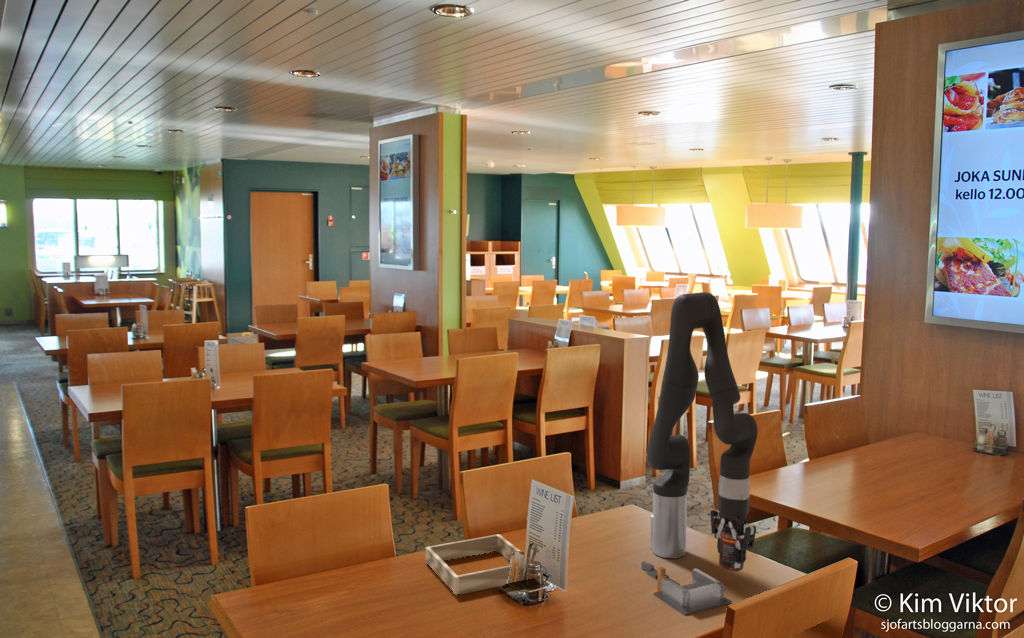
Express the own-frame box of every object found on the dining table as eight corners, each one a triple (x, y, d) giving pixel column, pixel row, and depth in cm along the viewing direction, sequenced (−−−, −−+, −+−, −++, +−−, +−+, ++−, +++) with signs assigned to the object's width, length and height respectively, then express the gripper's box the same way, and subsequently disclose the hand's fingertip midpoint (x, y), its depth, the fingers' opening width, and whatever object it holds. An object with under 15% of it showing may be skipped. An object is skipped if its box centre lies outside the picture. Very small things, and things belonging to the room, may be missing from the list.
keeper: (653, 594, 186) (653, 568, 186) (698, 583, 192) (698, 558, 192) (684, 615, 175) (685, 588, 175) (731, 603, 181) (732, 576, 181)
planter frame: (425, 563, 206) (425, 547, 205) (499, 549, 215) (499, 534, 215) (455, 595, 186) (455, 577, 186) (534, 578, 195) (534, 561, 195)
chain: (639, 568, 202) (639, 562, 201) (646, 567, 203) (646, 560, 202) (672, 589, 189) (672, 582, 189) (679, 587, 190) (679, 581, 190)
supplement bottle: (744, 573, 187) (746, 529, 186) (719, 571, 188) (721, 527, 187) (742, 563, 193) (743, 520, 192) (718, 561, 194) (719, 518, 193)
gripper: (702, 486, 193) (700, 549, 195) (743, 504, 181) (740, 572, 182) (725, 482, 197) (722, 544, 199) (766, 499, 184) (763, 566, 186)
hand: (731, 557), depth 190 cm, fingers closed on supplement bottle, 6 cm apart
